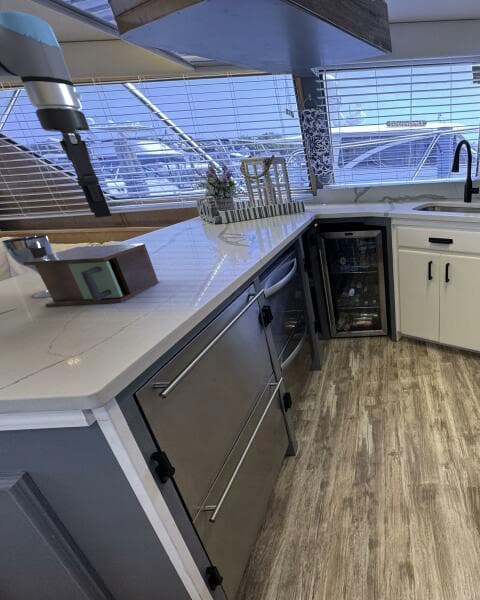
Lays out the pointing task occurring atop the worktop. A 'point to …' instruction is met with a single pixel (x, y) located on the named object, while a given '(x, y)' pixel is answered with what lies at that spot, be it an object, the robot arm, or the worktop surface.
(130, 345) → the worktop surface
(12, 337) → the worktop surface
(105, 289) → the door
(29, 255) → the wine glass
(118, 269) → the cabinet
